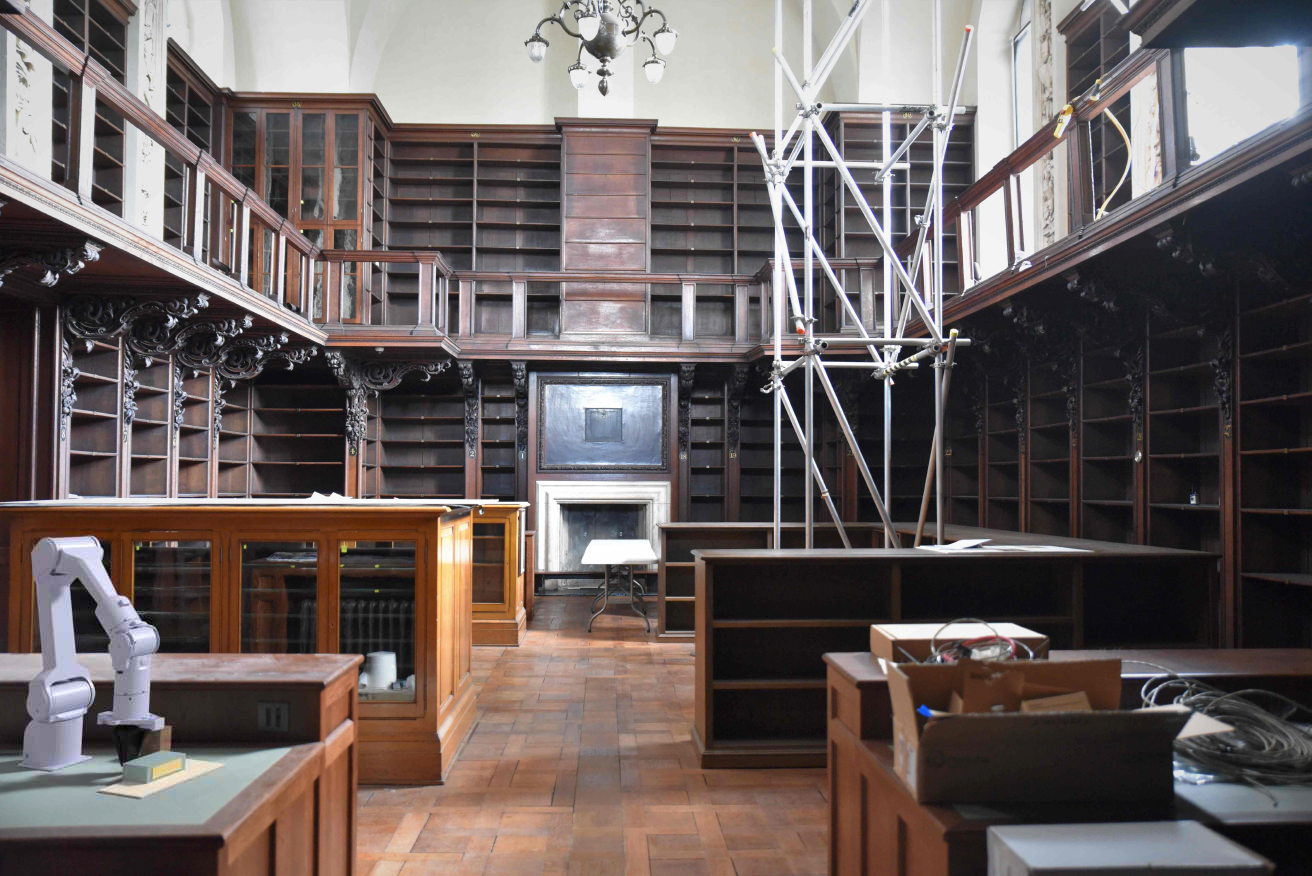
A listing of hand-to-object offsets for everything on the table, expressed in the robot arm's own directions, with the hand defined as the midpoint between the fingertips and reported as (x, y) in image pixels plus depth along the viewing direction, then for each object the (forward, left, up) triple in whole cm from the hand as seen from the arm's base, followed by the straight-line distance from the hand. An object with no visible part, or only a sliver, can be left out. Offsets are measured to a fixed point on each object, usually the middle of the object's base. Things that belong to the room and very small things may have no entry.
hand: (128, 765), depth 152 cm
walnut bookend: (-3, +8, -1) cm, 9 cm away
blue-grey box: (+3, 0, 0) cm, 4 cm away
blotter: (+9, 0, -1) cm, 9 cm away
